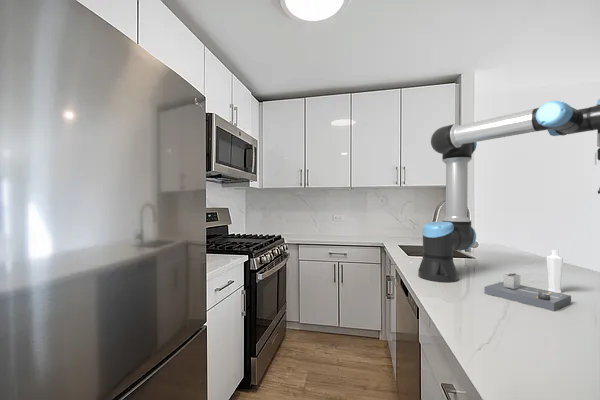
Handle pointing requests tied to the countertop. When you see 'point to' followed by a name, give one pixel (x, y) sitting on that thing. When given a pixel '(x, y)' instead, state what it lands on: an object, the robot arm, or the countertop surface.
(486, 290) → the console
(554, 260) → the perfume bottle
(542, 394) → the countertop surface
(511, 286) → the fader
